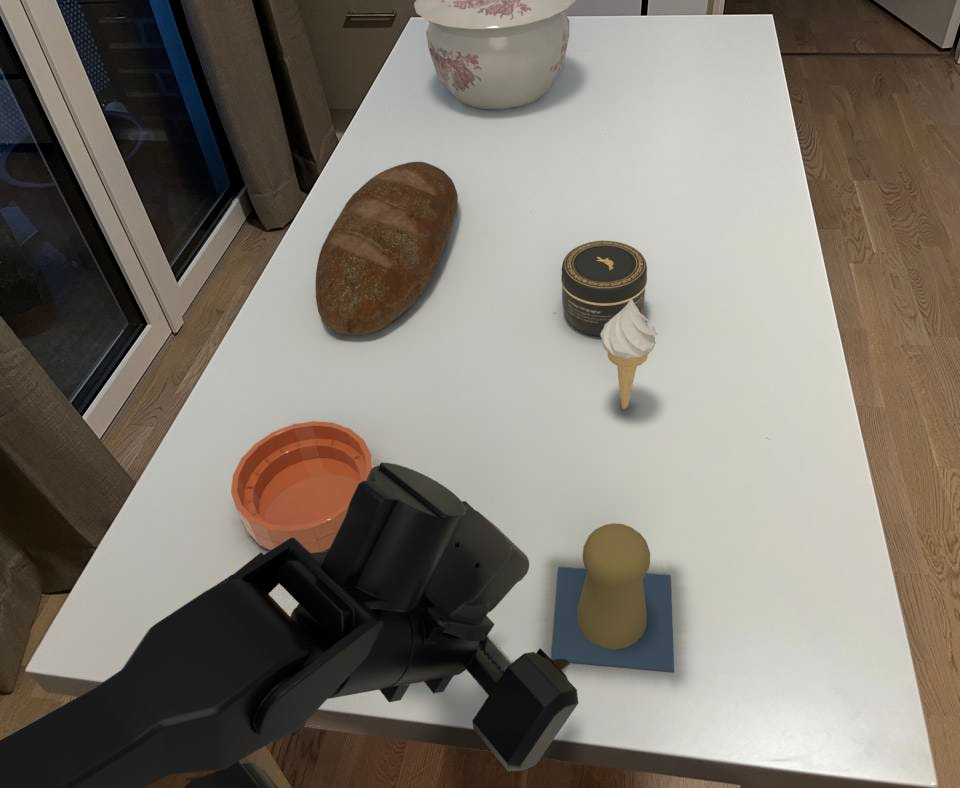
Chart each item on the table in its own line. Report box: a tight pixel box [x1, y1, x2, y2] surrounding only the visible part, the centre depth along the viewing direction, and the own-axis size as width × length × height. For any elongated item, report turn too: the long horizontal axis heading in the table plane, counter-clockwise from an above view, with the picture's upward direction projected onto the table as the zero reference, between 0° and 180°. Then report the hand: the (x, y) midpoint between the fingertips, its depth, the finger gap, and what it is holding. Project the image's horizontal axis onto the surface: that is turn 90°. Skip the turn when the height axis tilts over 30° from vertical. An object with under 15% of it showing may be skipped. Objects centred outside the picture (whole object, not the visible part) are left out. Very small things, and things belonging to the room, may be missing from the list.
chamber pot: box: [413, 0, 577, 110], centre depth 137 cm, size 28×28×21 cm
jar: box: [560, 240, 648, 337], centre depth 95 cm, size 10×10×8 cm
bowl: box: [230, 420, 375, 553], centre depth 79 cm, size 14×14×4 cm
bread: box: [315, 161, 459, 336], centre depth 107 cm, size 16×36×8 cm, turn 168°
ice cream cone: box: [600, 299, 659, 410], centre depth 81 cm, size 6×6×15 cm
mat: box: [550, 566, 675, 673], centre depth 68 cm, size 10×9×1 cm
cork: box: [576, 522, 651, 650], centre depth 64 cm, size 6×6×11 cm
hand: (523, 622), depth 60 cm, fingers open, 9 cm apart
